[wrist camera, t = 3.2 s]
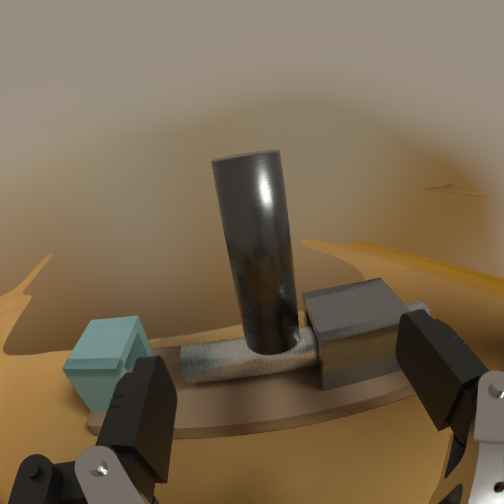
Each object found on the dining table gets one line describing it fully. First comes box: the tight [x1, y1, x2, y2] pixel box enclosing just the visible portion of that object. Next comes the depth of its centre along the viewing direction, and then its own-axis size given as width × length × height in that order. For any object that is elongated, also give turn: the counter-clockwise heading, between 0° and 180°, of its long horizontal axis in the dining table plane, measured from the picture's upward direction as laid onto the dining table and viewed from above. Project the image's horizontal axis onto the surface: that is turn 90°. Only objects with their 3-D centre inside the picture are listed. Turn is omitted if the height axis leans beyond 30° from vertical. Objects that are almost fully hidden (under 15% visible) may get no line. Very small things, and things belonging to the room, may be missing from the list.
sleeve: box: [302, 278, 411, 391], centre depth 22 cm, size 7×6×5 cm
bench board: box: [86, 346, 416, 439], centre depth 23 cm, size 27×10×2 cm, turn 94°
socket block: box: [62, 316, 155, 412], centre depth 22 cm, size 5×7×5 cm
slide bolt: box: [180, 150, 431, 383], centre depth 20 cm, size 20×4×16 cm, turn 94°
